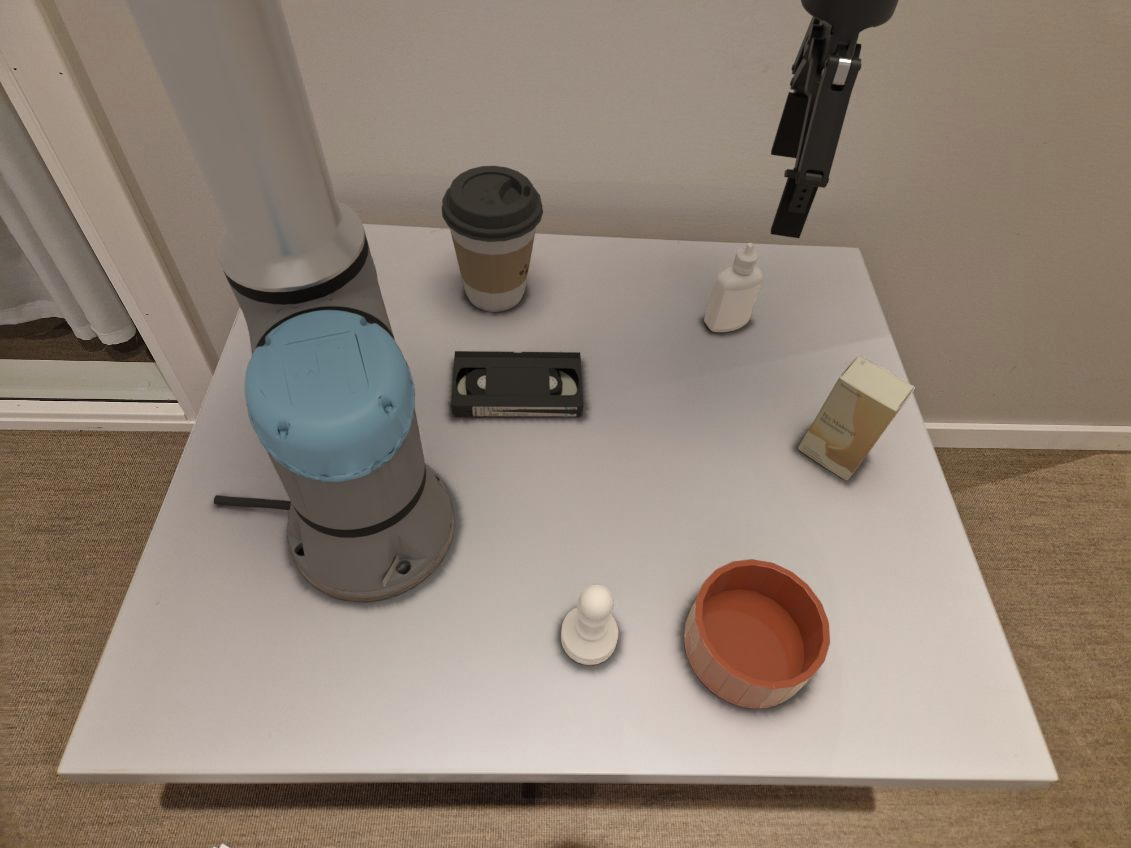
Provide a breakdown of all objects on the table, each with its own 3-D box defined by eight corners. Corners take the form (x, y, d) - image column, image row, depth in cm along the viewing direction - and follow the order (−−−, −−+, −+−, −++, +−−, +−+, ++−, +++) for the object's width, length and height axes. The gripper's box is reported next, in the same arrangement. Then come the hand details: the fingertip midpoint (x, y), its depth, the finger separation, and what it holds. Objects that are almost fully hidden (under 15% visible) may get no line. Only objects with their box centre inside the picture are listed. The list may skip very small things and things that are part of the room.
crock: (679, 695, 62) (692, 674, 58) (687, 577, 69) (699, 549, 65) (811, 719, 61) (833, 700, 57) (806, 597, 68) (826, 571, 64)
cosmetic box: (795, 450, 79) (835, 375, 69) (815, 426, 81) (856, 351, 71) (849, 484, 76) (897, 411, 67) (867, 459, 78) (917, 385, 69)
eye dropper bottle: (748, 337, 89) (776, 260, 79) (702, 331, 89) (725, 254, 79) (748, 313, 91) (775, 235, 82) (703, 307, 92) (725, 229, 82)
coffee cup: (538, 326, 88) (542, 224, 76) (444, 322, 88) (433, 219, 76) (541, 264, 95) (545, 162, 83) (454, 260, 95) (445, 156, 83)
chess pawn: (558, 612, 66) (563, 567, 59) (613, 609, 66) (625, 565, 59) (562, 667, 63) (568, 627, 56) (619, 664, 63) (633, 624, 56)
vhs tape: (452, 417, 79) (450, 405, 77) (455, 362, 84) (454, 351, 82) (582, 417, 80) (583, 406, 78) (579, 363, 85) (580, 352, 83)
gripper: (932, 36, 49) (827, 279, 65) (895, -94, 64) (817, 131, 81) (819, 22, 49) (743, 266, 66) (809, -104, 64) (749, 121, 81)
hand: (784, 192), depth 73 cm, fingers open, 13 cm apart
